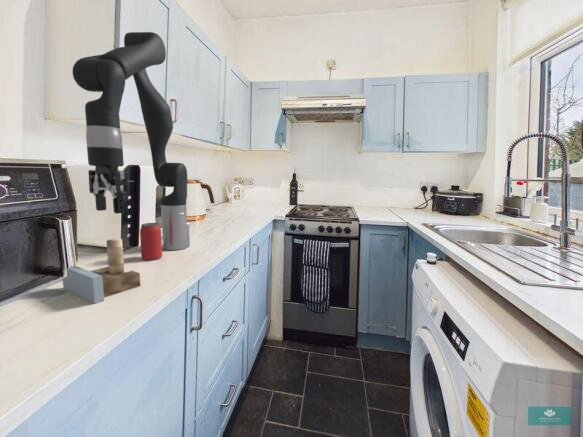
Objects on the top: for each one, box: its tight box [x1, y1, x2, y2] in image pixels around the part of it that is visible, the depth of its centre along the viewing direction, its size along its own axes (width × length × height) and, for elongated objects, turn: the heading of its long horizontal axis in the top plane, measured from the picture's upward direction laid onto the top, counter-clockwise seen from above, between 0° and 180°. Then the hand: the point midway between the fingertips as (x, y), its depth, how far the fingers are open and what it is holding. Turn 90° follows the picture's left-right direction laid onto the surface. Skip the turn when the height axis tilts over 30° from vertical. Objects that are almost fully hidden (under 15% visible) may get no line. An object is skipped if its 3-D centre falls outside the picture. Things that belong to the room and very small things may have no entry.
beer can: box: [139, 222, 163, 261], centre depth 103 cm, size 7×7×12 cm
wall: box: [62, 264, 105, 305], centre depth 72 cm, size 2×16×6 cm, turn 58°
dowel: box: [106, 238, 125, 276], centre depth 79 cm, size 4×4×12 cm
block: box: [90, 266, 141, 298], centre depth 78 cm, size 10×12×4 cm
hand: (110, 211), depth 76 cm, fingers open, 8 cm apart
